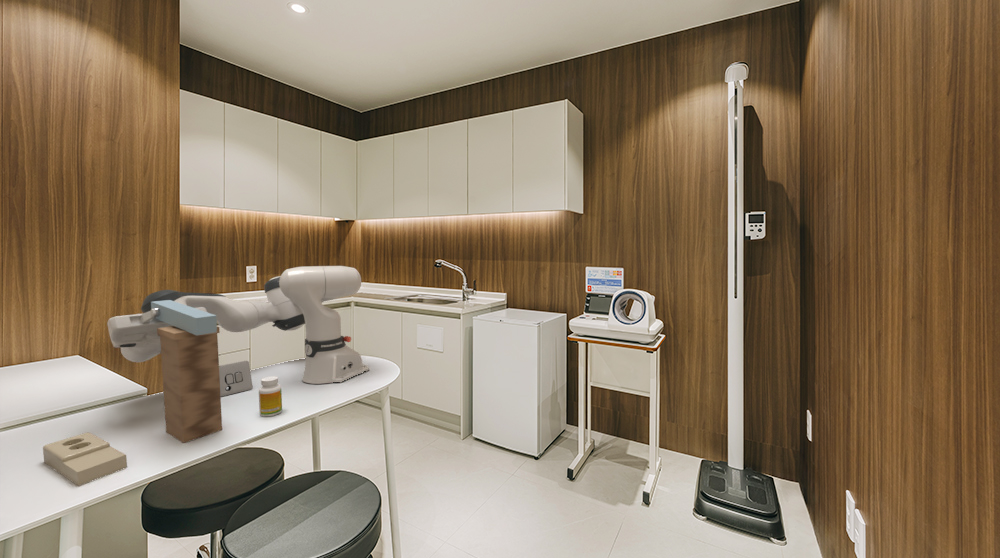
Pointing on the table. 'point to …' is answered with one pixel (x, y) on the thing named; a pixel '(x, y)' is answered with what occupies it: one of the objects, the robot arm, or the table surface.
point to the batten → (186, 317)
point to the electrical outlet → (83, 458)
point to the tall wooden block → (190, 383)
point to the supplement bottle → (270, 397)
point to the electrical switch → (235, 378)
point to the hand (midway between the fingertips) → (169, 309)
